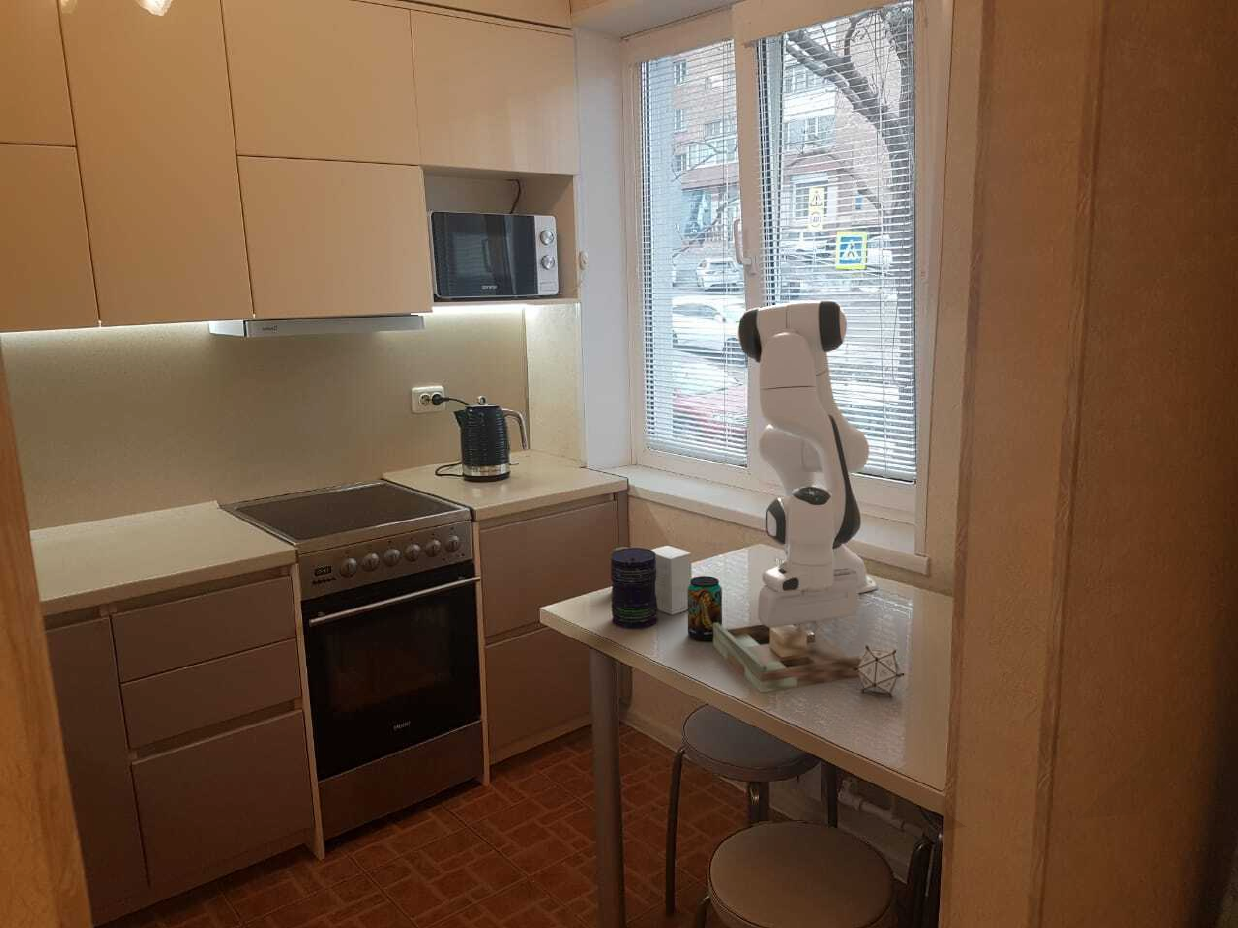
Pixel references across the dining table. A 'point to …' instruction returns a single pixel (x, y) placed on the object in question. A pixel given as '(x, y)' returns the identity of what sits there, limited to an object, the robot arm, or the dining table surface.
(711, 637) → the beverage can
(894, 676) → the game die
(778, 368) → the robot arm
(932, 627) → the dining table surface
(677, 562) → the small box
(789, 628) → the beech block
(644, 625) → the storage jar
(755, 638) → the box
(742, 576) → the dining table surface
